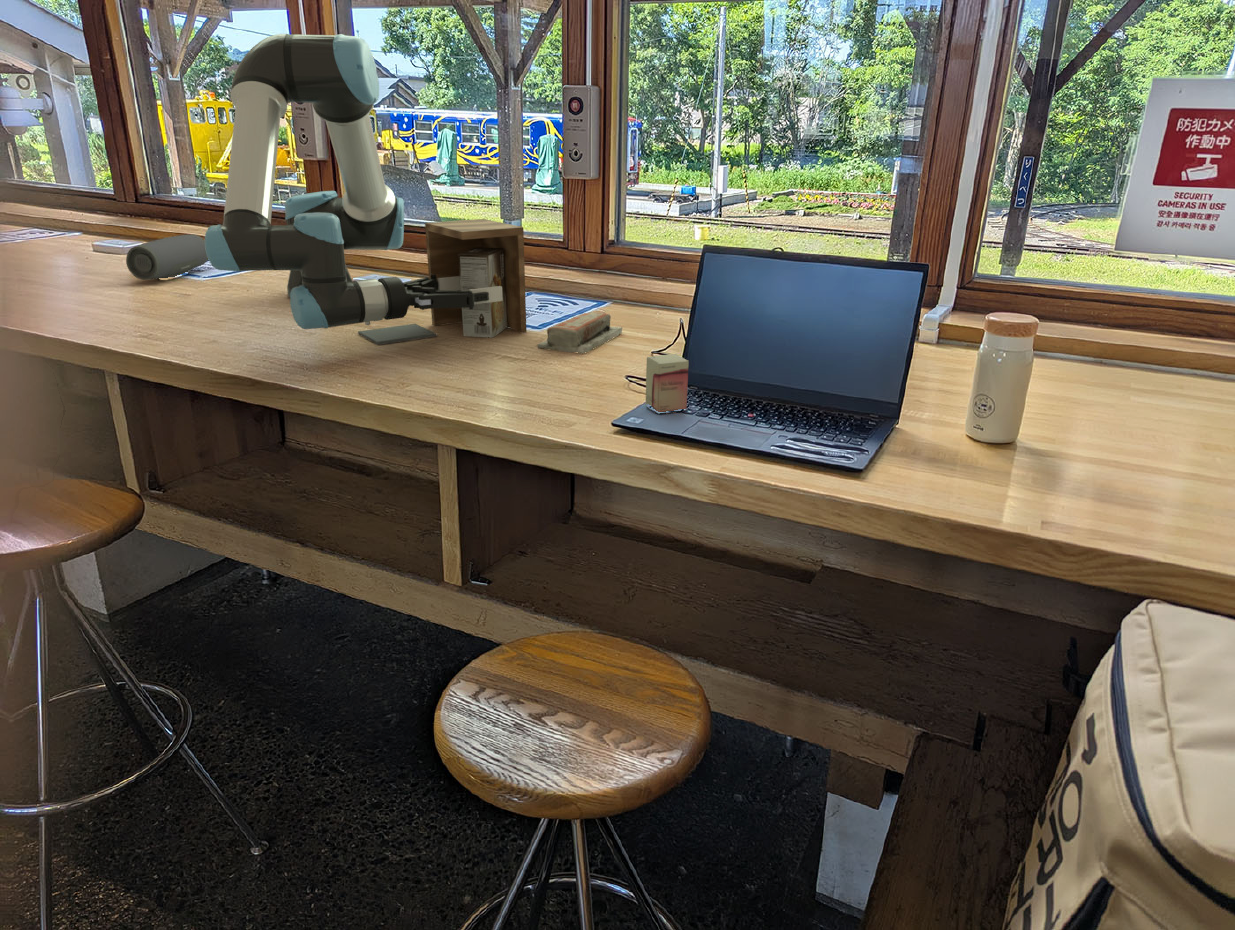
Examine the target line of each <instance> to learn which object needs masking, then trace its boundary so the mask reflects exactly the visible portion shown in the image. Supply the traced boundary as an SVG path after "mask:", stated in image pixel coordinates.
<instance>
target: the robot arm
mask: <svg viewBox="0 0 1235 930" xmlns="http://www.w3.org/2000/svg"><path fill="white" fill-rule="evenodd" d="M379 97H380V82H379V75H378V73H377V66H376V62H375V58H374V54H373V52H372V50H371V48H370V46H369V44H368V43H367V42H366V40H364V39H363V38H362V37H359V36H355V35H345V34H342V33H340V34H336V35H330V34H329V35H327V34H289V33H279V34H273V35H270V36H267V37H265V38H263V39H262V40H260V41H259V42H258V43H257V44H255V45H254V46H253V47H251V49H250V50H249V51H248V52H246V54H245V55H244V57H243V58H242V59H241V61H240V62H239V64H238V66H237V69H236V70H235V73H234V76H233V77H232V84H231V90H230V101H231V102H232V105H233V106H234V107H235V111H234V117H233V118H234V119H233V120H234V121H233V127H232V138H231V148H230V157H229V164H228V175H227V185H226V192H225V203H224V211H223V212H224V213H223V223H222V224H217V225H210V226H209V227H207V230H206V231H205V235H204V241H205V250H206V254H207V257H208V261H209V263H210V265H211V266H212V267H213V268H214V269H216V270H218V271H229V272H231V271H232V272H239V273H242V272H245V271H250V272H251V271H252V272H253V271H254V272H255V271H289V275H288V280H287V286H286V290H287V296H288V298H290V300H289V303H290V305H289V306H290V310H291V313H292V317H293V319H294V322H295V323H296V324H297V326H299V327H300V328H301V329H302V330H311V329H328V328H335V327H340V326H341V327H342V326H348V325H355V324H362V323H363V324H365V325H367V326H370V325H371V322H379V321H383V319H384V320H386V321H389V320H397V319H403V318H405V316H406V315H407V313H408V309H409V308H410V306H411V307H413V308H415V309H419V310H421V311H422V310H423V311H424V310H428V309H429V310H430V309H432V308H469V309H473V307H474V304H481V303H489V302H497V301H503V298H502V286H495V287H487V288H478V289H469V291H459V290H461V288H460V276H455V277H445V278H438V281H437V279H436V275H430V277H431V279H430V278H429V276H425V277H422V278H417V279H413V280H409V281H405V282H403V280H401V278H400V277H398V276H391V277H382V278H378V280H377V279H376V278H368V279H360V280H354V281H353V279H352V277H351V274H350V272H349V269H348V267H347V265H346V257H345V250H354V251H355V250H356V251H357V250H358V251H359V250H360V251H362V250H363V251H367V250H368V251H388V250H396V249H397V250H398V249H401V247H402V246H403V244H404V235H405V232H404V231H405V229H404V228H405V201H404V199H403V198H402V197H399V196H395V193H394V191H393V190H392V189H391V188H390V187H389V186H388V185H387V184H386V183H385V178H384V175H383V170H382V166H381V161H380V156H379V153H378V148H377V144H376V143H377V142H376V139H375V135H374V131H373V126H372V122H371V118H370V117H371V116H370V113H371V111H372V110H373V108H374V104H375V103H377V102H378V100H379ZM290 103H291V104H292V103H299V104H301V103H302V104H312V108H313V110H314V112H315V114H316V115H317V116H318V117H319V118H320V119H321V120H323V121H325V124H326V127H327V130H328V131H327V132H328V135H329V137H330V138H329V139H330V141H331V145H332V148H333V151H334V152H333V153H334V155H335V158H336V162H337V165H338V169H339V172H340V175H341V178H342V179H341V180H342V183H343V186H344V189H345V192H344V194H343V197H338V196H339V195H338V193H337V191H335V190H324V191H317V192H309V193H304V194H302V193H301V194H296V195H293V196H289V197H288V198H287V199H286V200H285V203H284V211H285V217H284V220H285V223H286V224H281V225H280V224H279V225H276V224H273V225H272V223H271V222H272V215H273V214H272V211H273V204H274V203H273V201H274V192H275V191H274V190H275V188H274V187H275V180H276V169H277V167H276V166H277V159H278V144H279V137H280V136H279V135H280V134H279V133H280V127H281V126H280V125H281V124H280V123H281V119H282V118H283V117H284V116H285V114H286V113H287V111H288V104H290ZM437 289H438V290H437Z"/></svg>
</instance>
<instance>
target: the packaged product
mask: <svg viewBox="0 0 1235 930" xmlns="http://www.w3.org/2000/svg"><path fill="white" fill-rule="evenodd" d="M611 319H612V317H611V315H610V313H606V312H605V311H600V310H598V311H593V312H592V311H591V312H590V311H589V312H584V313H581V314H578V315H575V316H573V317H571V318H569V319H566V320H564V321H562V322H560V323H557V324H554V325H552V326H551V327H548V328H547V330H546V332H547V333H546V334H547V337H546V340H544V341H542V342H539V343H538V344H536V347H537V348H538V349H540V348H544V349H543V350H548V349H550V350H549V351H556V350H557V352H565V353H572V352H578V353H577V354H580V353H585V352H587V353H588V352H590V351H592V350H594V349H596V348H598V347H600V346H601V344H602V345H604V344H606V343H608V342H609V341H608V340H610V339H611V340H613V339H614V338H613V337H615V338H617V337H618V336H620V335H621V334H622V332H623V327H622V326H611ZM619 334H620V335H619ZM612 338H613V339H612ZM611 340H610V341H611ZM607 341H608V342H607ZM605 342H606V343H605ZM603 343H604V344H603ZM599 345H600V346H599ZM597 346H598V347H597ZM595 347H596V348H595ZM593 348H594V349H593ZM585 354H586V353H585Z"/></svg>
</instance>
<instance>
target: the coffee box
mask: <svg viewBox="0 0 1235 930" xmlns="http://www.w3.org/2000/svg"><path fill="white" fill-rule="evenodd" d="M458 256H459V271H460V288H461V291H469V289H478V288H487V287H495V286H502V298H503V301H497V302H489V303H481V304H474V307H473V309H469V308H462V321H463V322H462V333H463V334H462V335H463V337H470V338H471V337H474V338H475V337H476V338H488V337H489V339H490V338H491V339H493V338H494V337H496V336H497V335H498V334H500V333H502V332H503V331H504V330H505V329H507V328H508V327H507V307H506V284H505V261H504V248H484V247H474V248H472V249H470V250H467V251H465V252H462V253H460V254H458Z"/></svg>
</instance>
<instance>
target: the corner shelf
mask: <svg viewBox="0 0 1235 930" xmlns="http://www.w3.org/2000/svg"><path fill="white" fill-rule="evenodd" d="M424 229H425V240H426V241H425V242H426V257H427V269H428V278H430V279H431V277H430V275H436V279H437V281H438V278H445V277H455V276H460V271H459V256H458V254H460V253H462V252H465V251H467V250H470V249H472V248H474V247H484V248H504V261H505V284H506V307H507V328H509V329H511V330H513V331H516V332H519V333H521V334H522V333H527V306H526V303H527V302H526V298H527V297H526V272H525V271H526V270H525V269H526V267H525V266H526V265H525V238H524V237H525V235H524V227H523V226H519V225H514V224H511V223H506V222H505V223H504V222H500V221H495V220H491V219H487V218H486V219H485V218H477V219H463V220H461V219H460V220H448V221H445V220H444V221H435V222H434V221H432V222H425V223H424ZM437 290H438V289H437ZM459 291H461V290H459ZM430 313H431V314H430V315H431V323H432V324H431V325H432V326H434V327H436V326H444V325H450V324H451V325H452V324H457V323H458V324H459V323H463V321H462V308H432V309H431V310H430Z"/></svg>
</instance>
